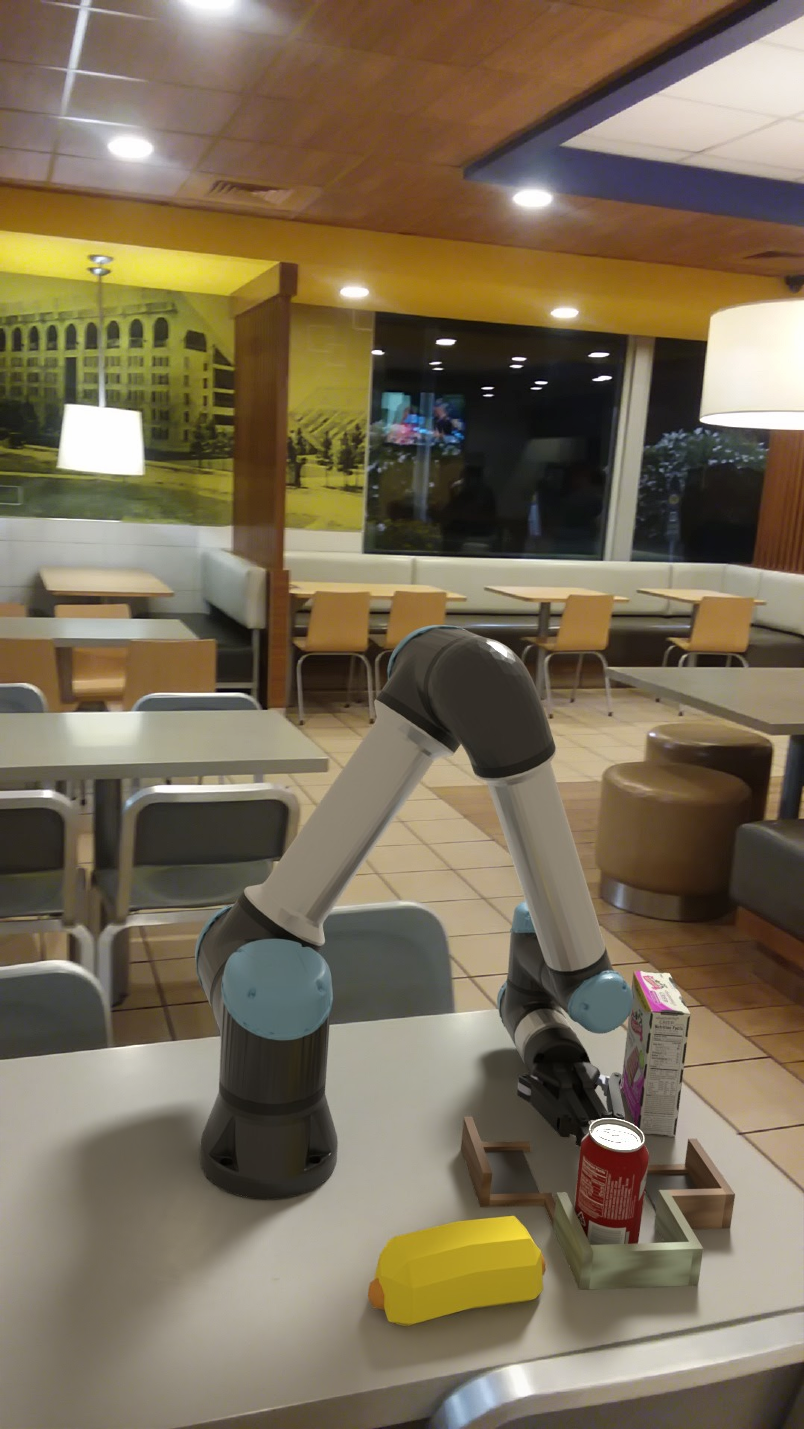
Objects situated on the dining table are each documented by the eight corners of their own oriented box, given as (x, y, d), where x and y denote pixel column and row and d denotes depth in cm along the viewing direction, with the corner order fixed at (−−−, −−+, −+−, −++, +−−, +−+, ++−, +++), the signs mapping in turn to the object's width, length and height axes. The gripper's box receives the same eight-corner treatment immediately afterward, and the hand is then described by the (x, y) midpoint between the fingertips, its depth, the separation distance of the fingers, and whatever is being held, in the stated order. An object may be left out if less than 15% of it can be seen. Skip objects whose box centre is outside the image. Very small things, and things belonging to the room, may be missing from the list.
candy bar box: (617, 1086, 140) (632, 968, 137) (656, 1089, 140) (671, 971, 137) (635, 1136, 129) (650, 1009, 126) (676, 1139, 129) (693, 1012, 126)
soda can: (629, 1271, 105) (642, 1161, 103) (562, 1247, 108) (574, 1140, 106) (644, 1231, 111) (657, 1126, 109) (581, 1210, 114) (592, 1107, 112)
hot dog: (353, 1284, 101) (379, 1345, 94) (358, 1221, 100) (384, 1278, 93) (525, 1252, 107) (562, 1307, 100) (532, 1192, 106) (569, 1243, 99)
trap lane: (507, 1292, 101) (511, 1255, 101) (460, 1148, 124) (463, 1116, 123) (765, 1282, 105) (771, 1246, 104) (675, 1144, 128) (679, 1113, 127)
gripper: (598, 1079, 136) (670, 1197, 113) (498, 1080, 134) (551, 1201, 111) (604, 1024, 135) (679, 1133, 112) (504, 1025, 133) (558, 1136, 110)
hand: (615, 1167), depth 112 cm, fingers closed
